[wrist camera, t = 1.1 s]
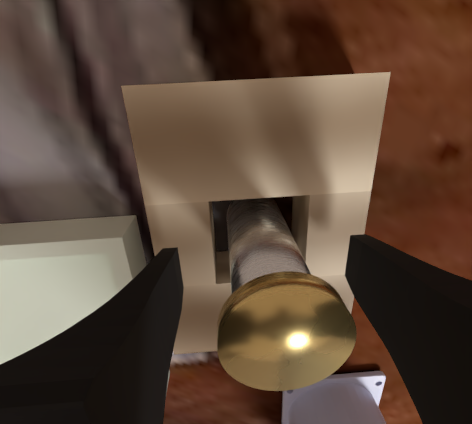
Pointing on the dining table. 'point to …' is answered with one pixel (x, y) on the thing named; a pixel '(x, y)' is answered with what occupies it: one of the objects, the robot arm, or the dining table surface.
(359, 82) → the hitch block
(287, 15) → the dining table surface
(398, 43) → the dining table surface
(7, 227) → the tray
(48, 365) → the robot arm
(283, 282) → the pin
